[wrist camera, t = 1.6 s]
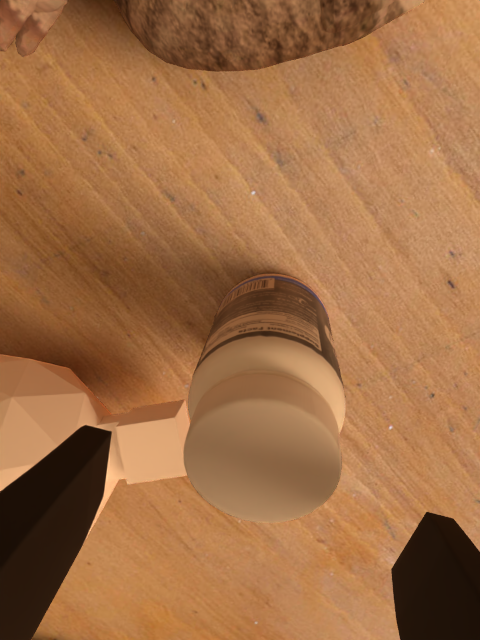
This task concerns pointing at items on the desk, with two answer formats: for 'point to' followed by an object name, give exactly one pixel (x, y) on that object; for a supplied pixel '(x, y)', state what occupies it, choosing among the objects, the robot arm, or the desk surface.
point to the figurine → (219, 27)
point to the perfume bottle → (76, 411)
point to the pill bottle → (266, 404)
